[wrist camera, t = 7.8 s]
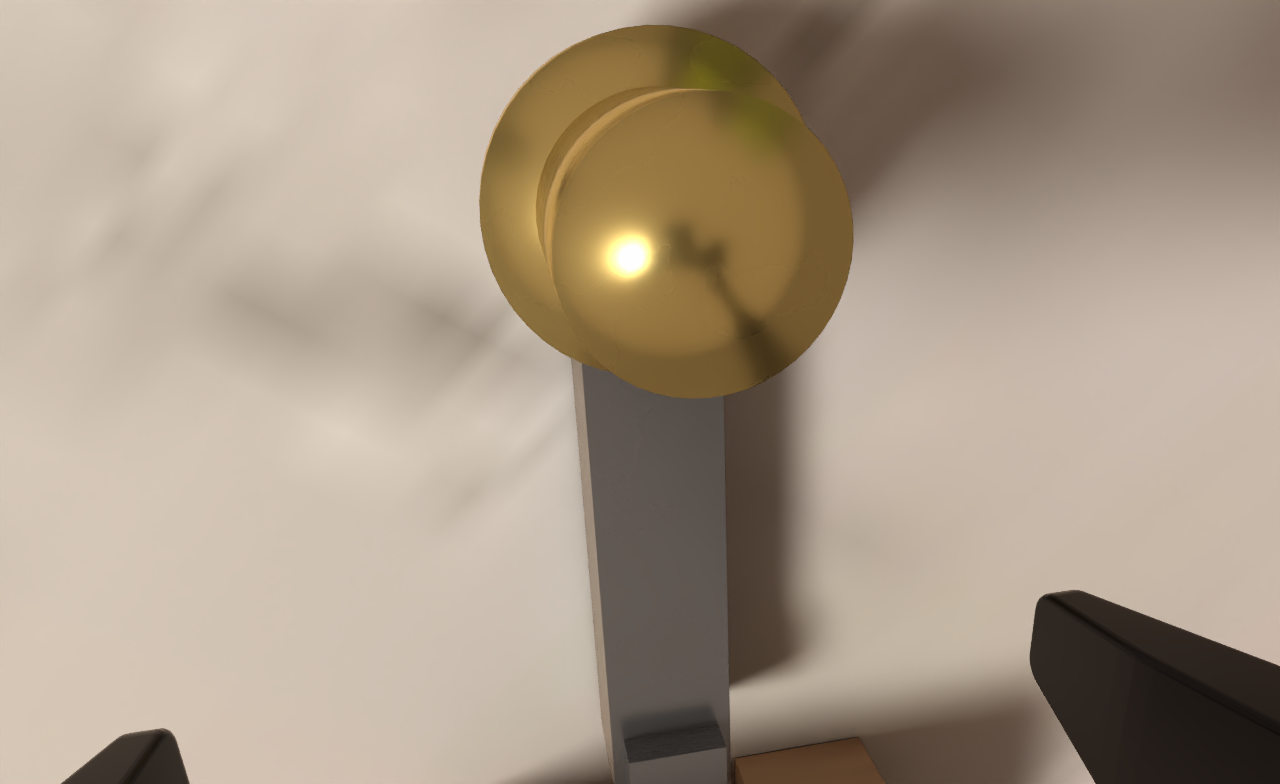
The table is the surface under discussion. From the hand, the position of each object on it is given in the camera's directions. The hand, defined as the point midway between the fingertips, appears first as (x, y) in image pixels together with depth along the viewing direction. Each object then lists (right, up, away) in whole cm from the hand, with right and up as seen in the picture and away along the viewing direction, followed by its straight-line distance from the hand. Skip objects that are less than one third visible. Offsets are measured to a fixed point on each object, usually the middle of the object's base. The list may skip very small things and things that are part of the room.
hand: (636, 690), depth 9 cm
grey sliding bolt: (0, +2, +13) cm, 13 cm away
